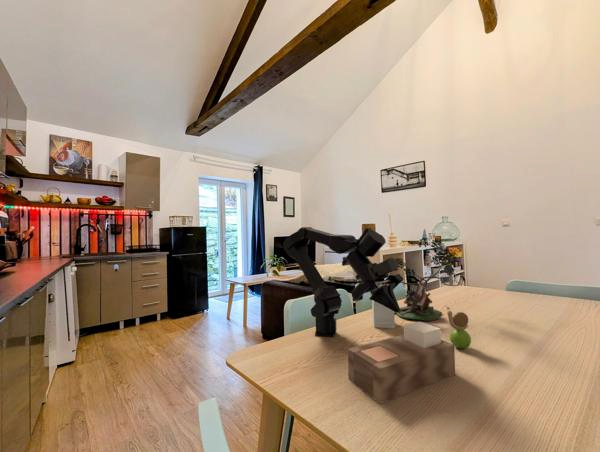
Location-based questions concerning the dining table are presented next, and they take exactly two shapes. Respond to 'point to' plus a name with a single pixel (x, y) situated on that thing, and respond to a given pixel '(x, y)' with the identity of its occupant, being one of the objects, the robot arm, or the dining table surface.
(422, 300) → the bonsai tree
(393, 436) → the dining table surface
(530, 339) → the dining table surface
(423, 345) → the white box
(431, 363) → the brown striped box
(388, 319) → the supplement box
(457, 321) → the snail figurine
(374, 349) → the salmon pink block
